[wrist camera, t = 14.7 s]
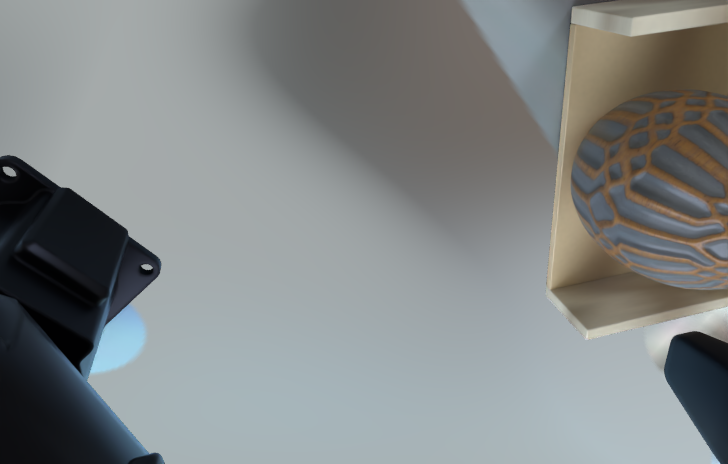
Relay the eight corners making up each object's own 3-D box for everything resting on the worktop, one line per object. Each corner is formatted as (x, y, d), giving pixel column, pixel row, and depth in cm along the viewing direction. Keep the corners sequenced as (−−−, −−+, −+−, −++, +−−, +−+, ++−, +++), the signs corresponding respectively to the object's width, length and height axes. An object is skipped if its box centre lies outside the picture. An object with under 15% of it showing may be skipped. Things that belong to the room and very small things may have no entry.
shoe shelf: (544, 295, 26) (607, 364, 22) (571, 6, 20) (667, 23, 16) (696, 261, 28) (783, 320, 23) (768, -20, 21) (906, -11, 17)
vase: (593, 254, 25) (751, 386, 18) (513, 163, 22) (663, 277, 14) (714, 148, 24) (940, 241, 16) (648, 34, 21) (891, 86, 13)
